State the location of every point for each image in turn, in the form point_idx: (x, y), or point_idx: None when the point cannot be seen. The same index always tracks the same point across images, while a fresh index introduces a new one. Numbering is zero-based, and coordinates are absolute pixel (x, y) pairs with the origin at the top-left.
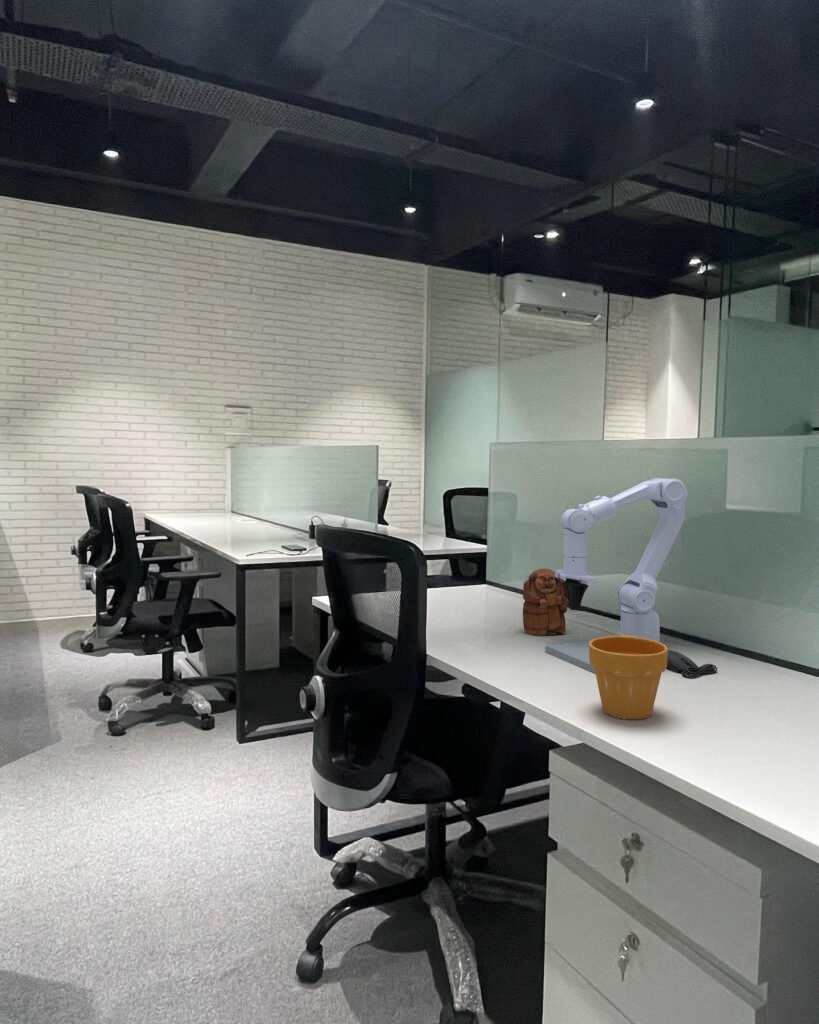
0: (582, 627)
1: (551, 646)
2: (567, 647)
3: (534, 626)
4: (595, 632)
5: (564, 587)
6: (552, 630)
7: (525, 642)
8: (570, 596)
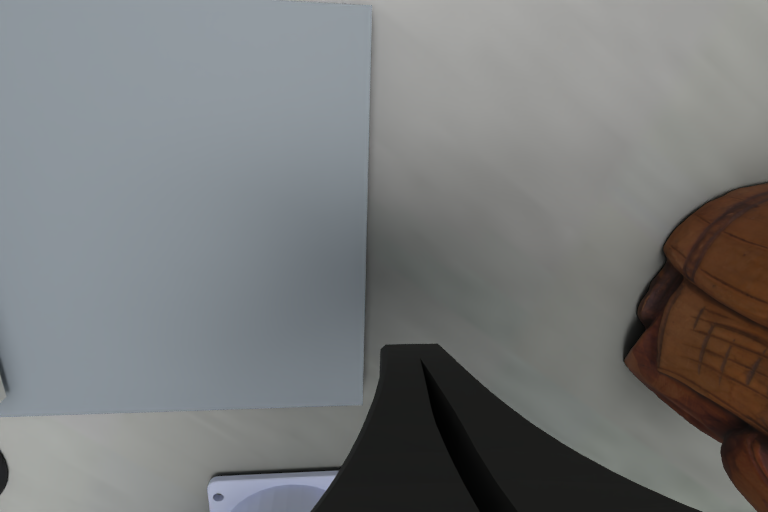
0: None
1: (332, 34)
2: (265, 126)
3: (756, 213)
4: None
5: (615, 509)
6: (666, 306)
7: (627, 44)
8: (415, 428)
